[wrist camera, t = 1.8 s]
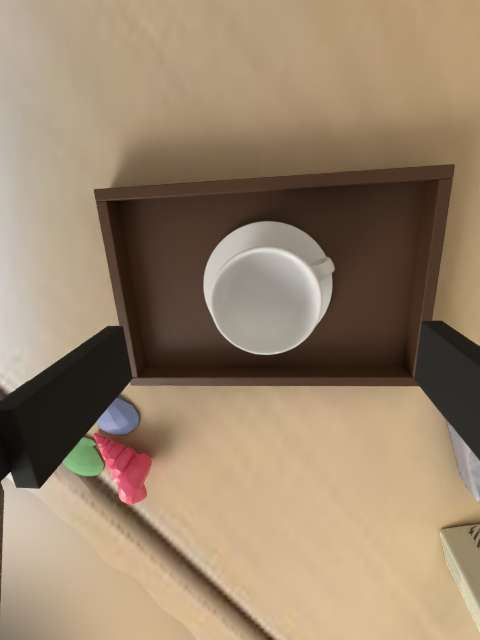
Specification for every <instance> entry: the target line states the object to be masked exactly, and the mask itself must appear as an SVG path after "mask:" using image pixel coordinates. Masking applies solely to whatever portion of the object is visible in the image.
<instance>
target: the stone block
mask: <svg viewBox="0 0 480 640" xmlns="http://www.w3.org/2000/svg"><path fill="white" fill-rule="evenodd" d="M447 424H448V428H449V432H450V436H451V440H452V445H453V448H454V452H455V456H456V460H457V465H458V469H459V473H460V476H461V478H462V480H463V482H464V485H465V486H466V488H467V489H468V490H469V491H470V492H471V494H472V495H473V497H474V498H475V499H476V500H477V501H478V502H480V461H479V459H478V458H477V457H476V456H475V454H474V453H473V452H472V451H471V449H470V448H469V447H468V446H467V444H466V443H465V442H464V441H463V439H462V438H461V437H460V436H459V435H458V433H457V432H456V431H455V430H454V428H453V427H452V426H451V425H450V423H449V422H448V421H447Z"/></svg>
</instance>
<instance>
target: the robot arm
mask: <svg viewBox="0 0 480 640" xmlns="http://www.w3.org/2000/svg"><path fill="white" fill-rule="evenodd" d="M132 379H133V377H132V371H131V366H130V360H129V355H128V350H127V344H126V339H125V333H124V328H123V326H107V327H106V328H104V329H103V330H101V331H100V332H99V333H97V334H96V335H94V336H93V337H91V338H90V339H89V340H87V341H86V342H84V343H83V344H81V345H80V346H78V347H77V348H76V349H74V350H73V351H71V352H70V353H68V354H67V355H66V356H64V357H63V358H61V359H60V360H58V361H57V362H55V363H54V364H53V365H51V366H50V367H48V368H47V369H45V370H44V371H43V372H41V373H40V374H38V375H37V376H35V377H34V378H32V379H31V380H29V381H27V382H26V383H24V384H23V385H21V386H20V387H18V388H17V389H16V390H15V391H13V392H11V393H10V394H8V395H7V396H6V397H5V398H3V399H1V400H0V600H1V570H2V538H3V510H4V508H3V507H4V490H3V487H2V485H1V480H3V479H4V478H5V477H6V476H7V475H8V474H9V473H10V472H11V474H12V477H13V480H14V483H15V485H16V487H17V488H38V489H40V488H41V486H42V485H43V484H44V483H45V482H46V480H47V479H48V478H49V477H50V476H51V475H52V473H53V472H54V471H55V470H56V469H57V467H58V466H59V465H60V464H61V463H62V462H63V460H64V459H65V458H66V457H67V456H68V454H69V453H70V452H71V451H72V450H73V449H74V447H75V446H76V445H77V444H78V443H79V441H80V440H81V439H82V438H83V437H84V436H85V434H86V433H87V432H88V431H89V430H90V428H91V427H92V426H93V425H94V424H95V423H96V421H97V420H98V419H99V418H100V417H101V415H102V414H103V413H104V412H105V411H106V410H107V408H108V407H109V406H110V405H111V404H112V402H113V401H114V400H115V399H116V398H117V397H118V395H119V394H120V393H121V392H122V391H123V389H124V388H125V387H126V386H127V385H128V384H129V382H130V381H131V380H132ZM414 380H415V381H416V382H417V384H418V385H419V386H420V387H421V389H422V390H423V391H424V392H425V394H426V395H427V396H428V397H429V399H430V400H431V401H432V402H433V404H434V405H435V406H436V407H437V409H438V410H439V411H440V412H441V413H442V415H443V416H444V417H445V418H446V420H447V421H448V422H449V423H450V425H451V426H452V427H453V428H454V430H455V431H456V432H457V433H458V435H459V436H460V437H461V438H462V439H463V441H464V442H465V443H466V444H467V446H468V447H469V448H470V449H471V451H472V452H473V453H474V454H475V456H476V457H477V458H478V459H479V461H480V346H478V345H477V344H475V343H474V342H472V341H471V340H469V339H468V338H466V337H465V336H463V335H462V334H460V333H459V332H458V331H456V330H455V329H453V328H452V327H450V326H449V325H447V324H446V323H444V322H443V321H422V325H421V332H420V340H419V347H418V355H417V362H416V370H415V377H414Z"/></svg>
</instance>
